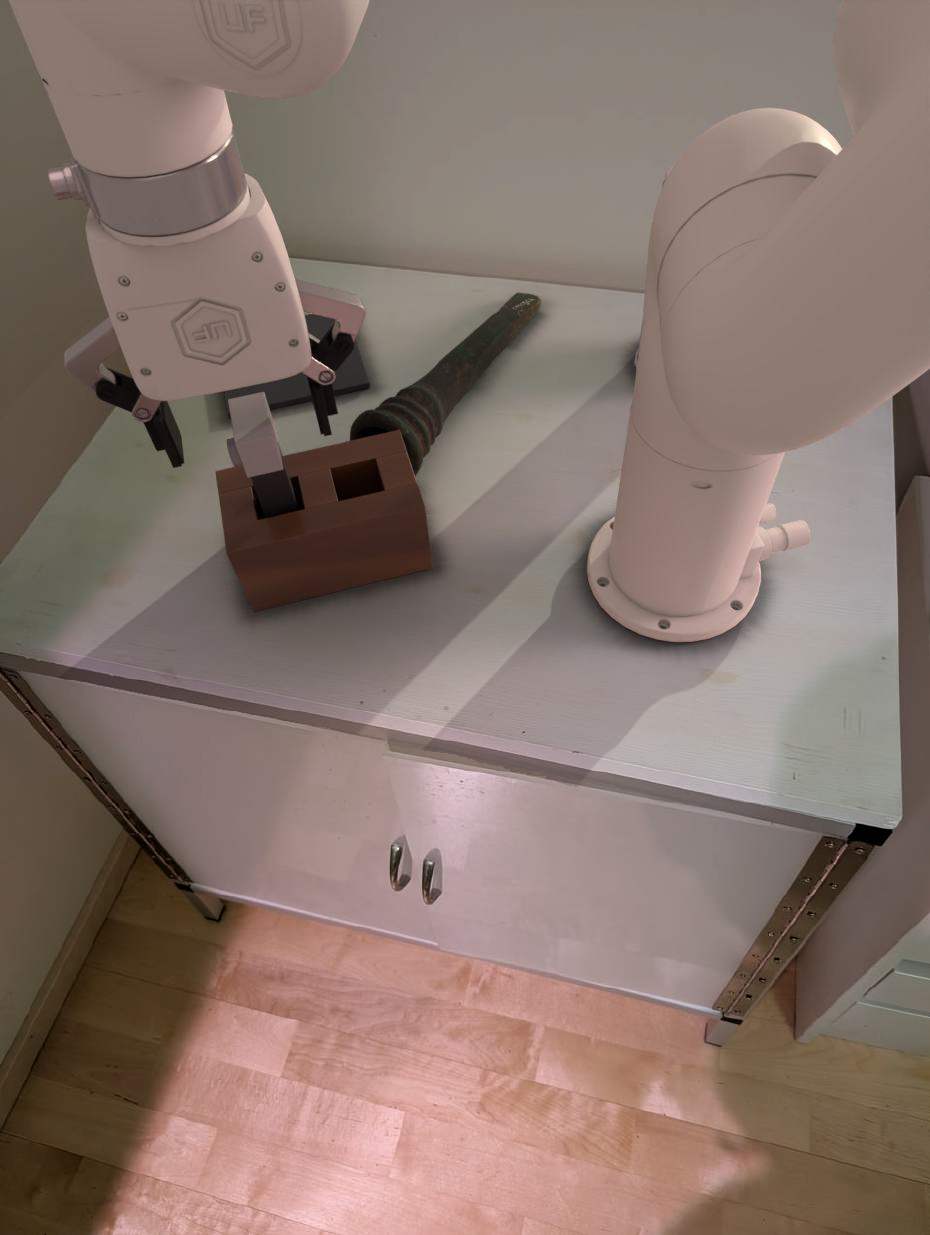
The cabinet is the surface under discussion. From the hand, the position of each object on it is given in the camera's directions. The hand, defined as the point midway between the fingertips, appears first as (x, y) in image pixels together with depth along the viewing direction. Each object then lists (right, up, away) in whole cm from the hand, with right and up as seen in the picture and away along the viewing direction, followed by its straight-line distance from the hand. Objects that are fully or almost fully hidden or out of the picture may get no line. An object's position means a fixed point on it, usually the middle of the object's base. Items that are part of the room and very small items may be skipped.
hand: (251, 437), depth 55 cm
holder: (+4, -7, +11) cm, 13 cm away
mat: (-2, +12, +24) cm, 27 cm away
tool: (+13, +9, +22) cm, 27 cm away
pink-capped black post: (+1, -7, +11) cm, 13 cm away
